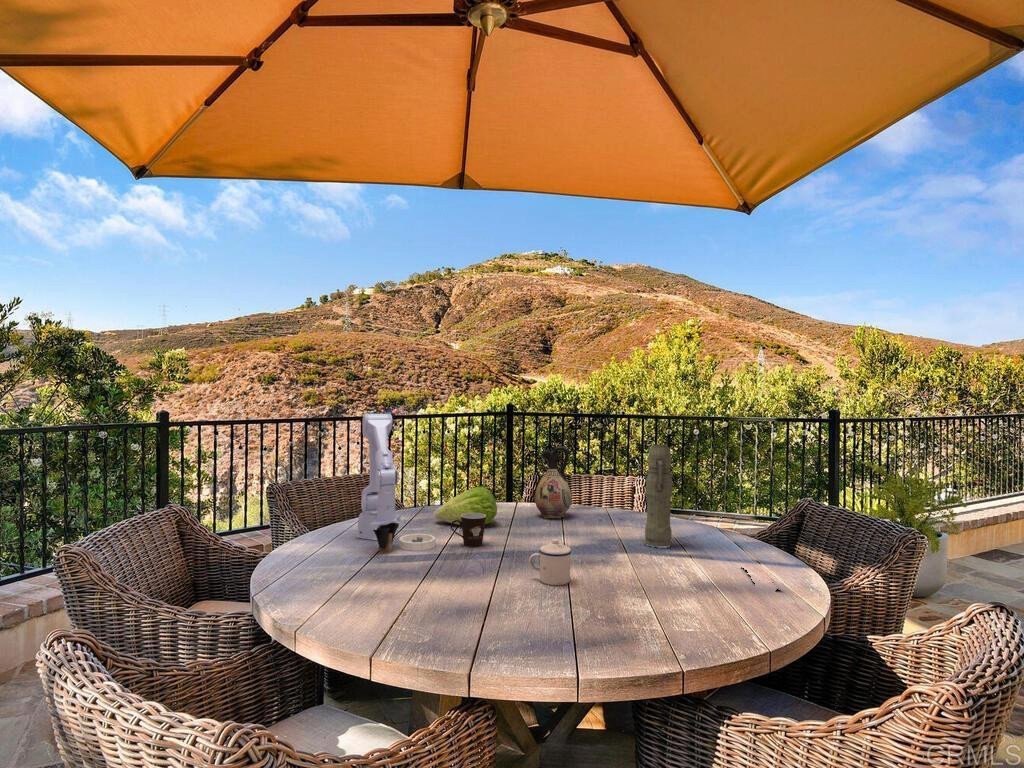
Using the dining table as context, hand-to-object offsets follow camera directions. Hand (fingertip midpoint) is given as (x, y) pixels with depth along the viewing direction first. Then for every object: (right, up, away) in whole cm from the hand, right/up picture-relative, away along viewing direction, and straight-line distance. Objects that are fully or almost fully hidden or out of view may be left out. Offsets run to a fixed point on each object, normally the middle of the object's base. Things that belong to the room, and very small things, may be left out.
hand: (385, 546), depth 193 cm
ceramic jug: (+59, -3, +54) cm, 80 cm away
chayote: (+23, -2, +39) cm, 46 cm away
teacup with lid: (+52, -3, -25) cm, 58 cm away
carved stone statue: (+93, -3, +13) cm, 94 cm away
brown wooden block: (0, -1, 0) cm, 1 cm away
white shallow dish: (+9, -2, +7) cm, 12 cm away
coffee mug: (+27, -2, +10) cm, 28 cm away
